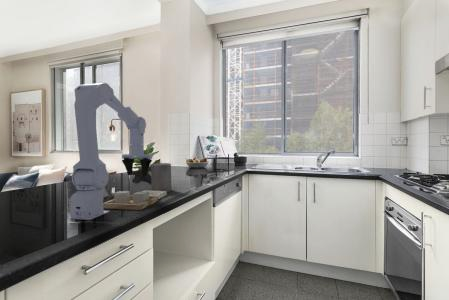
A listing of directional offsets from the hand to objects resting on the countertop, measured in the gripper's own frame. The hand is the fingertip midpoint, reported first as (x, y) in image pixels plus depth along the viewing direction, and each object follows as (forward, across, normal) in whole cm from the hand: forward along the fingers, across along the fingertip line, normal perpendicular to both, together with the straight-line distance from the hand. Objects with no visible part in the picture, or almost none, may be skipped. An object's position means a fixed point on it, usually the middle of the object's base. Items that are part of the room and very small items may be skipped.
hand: (137, 175), depth 104 cm
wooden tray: (+10, -6, +11) cm, 16 cm away
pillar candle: (+10, -2, -16) cm, 19 cm away
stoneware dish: (+10, -6, -1) cm, 12 cm away
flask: (+10, +17, +5) cm, 20 cm away
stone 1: (+9, -3, +12) cm, 15 cm away
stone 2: (+9, -10, +11) cm, 18 cm away
